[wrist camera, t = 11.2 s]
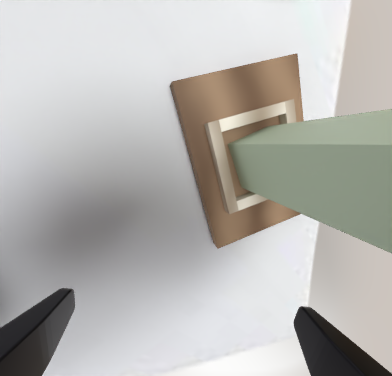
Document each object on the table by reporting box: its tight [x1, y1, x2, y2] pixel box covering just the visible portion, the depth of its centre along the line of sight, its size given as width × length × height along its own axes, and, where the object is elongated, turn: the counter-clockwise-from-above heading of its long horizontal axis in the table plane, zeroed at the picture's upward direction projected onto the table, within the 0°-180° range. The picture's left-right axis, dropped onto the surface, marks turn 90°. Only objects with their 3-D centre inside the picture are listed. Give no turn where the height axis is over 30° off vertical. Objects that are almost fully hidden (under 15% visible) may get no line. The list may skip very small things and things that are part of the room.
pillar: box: [228, 109, 392, 253], centre depth 12 cm, size 4×4×13 cm
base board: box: [170, 54, 303, 248], centre depth 19 cm, size 12×16×2 cm
